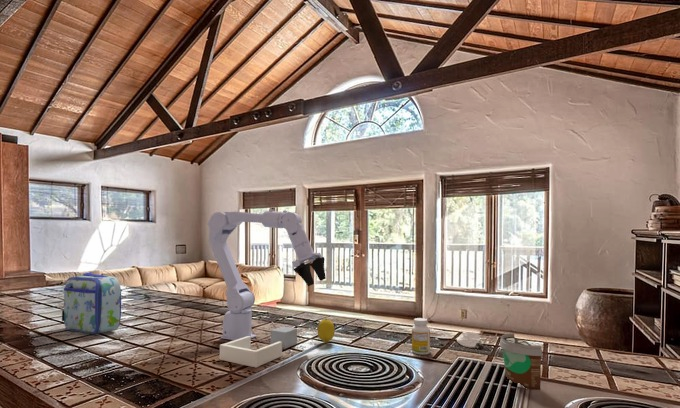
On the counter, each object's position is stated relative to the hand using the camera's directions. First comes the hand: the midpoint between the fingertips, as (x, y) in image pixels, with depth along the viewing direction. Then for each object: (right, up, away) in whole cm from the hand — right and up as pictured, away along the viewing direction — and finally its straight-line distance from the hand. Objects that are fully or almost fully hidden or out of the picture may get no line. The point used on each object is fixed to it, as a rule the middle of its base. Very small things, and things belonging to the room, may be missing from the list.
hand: (317, 282), depth 126 cm
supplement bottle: (+32, -19, -12) cm, 39 cm away
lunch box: (-85, -21, +14) cm, 89 cm away
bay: (-18, -18, -17) cm, 31 cm away
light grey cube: (-11, -19, -4) cm, 23 cm away
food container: (+50, -17, -36) cm, 64 cm away
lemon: (+3, -20, -3) cm, 20 cm away
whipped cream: (+49, -20, -4) cm, 53 cm away
